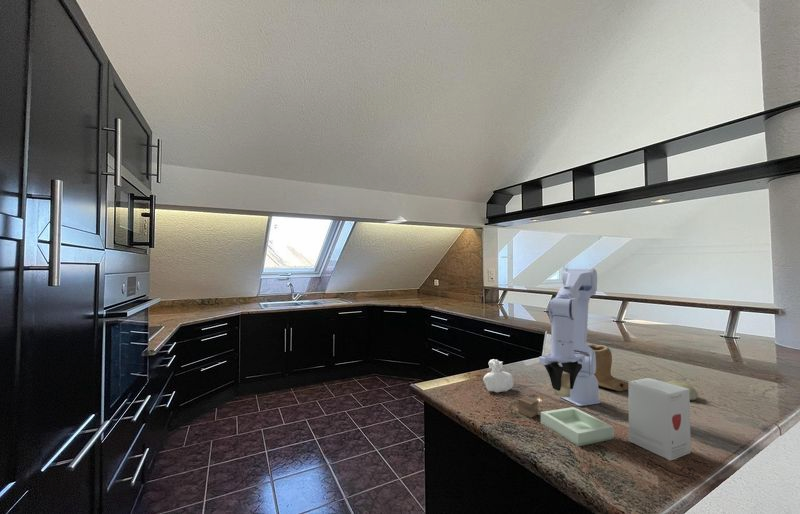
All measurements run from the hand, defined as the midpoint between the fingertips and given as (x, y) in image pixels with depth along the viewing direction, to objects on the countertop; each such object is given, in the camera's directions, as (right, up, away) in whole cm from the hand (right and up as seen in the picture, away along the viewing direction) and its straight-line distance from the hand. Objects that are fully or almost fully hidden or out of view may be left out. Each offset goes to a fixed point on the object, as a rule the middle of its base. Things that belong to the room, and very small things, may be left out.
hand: (562, 388), depth 87 cm
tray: (0, -9, -6) cm, 10 cm away
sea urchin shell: (+52, -12, +20) cm, 57 cm away
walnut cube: (-8, -9, +4) cm, 13 cm away
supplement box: (+17, -9, -13) cm, 23 cm away
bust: (-11, -10, +23) cm, 28 cm away
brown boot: (+30, -12, +29) cm, 43 cm away
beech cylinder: (0, -2, 0) cm, 2 cm away
